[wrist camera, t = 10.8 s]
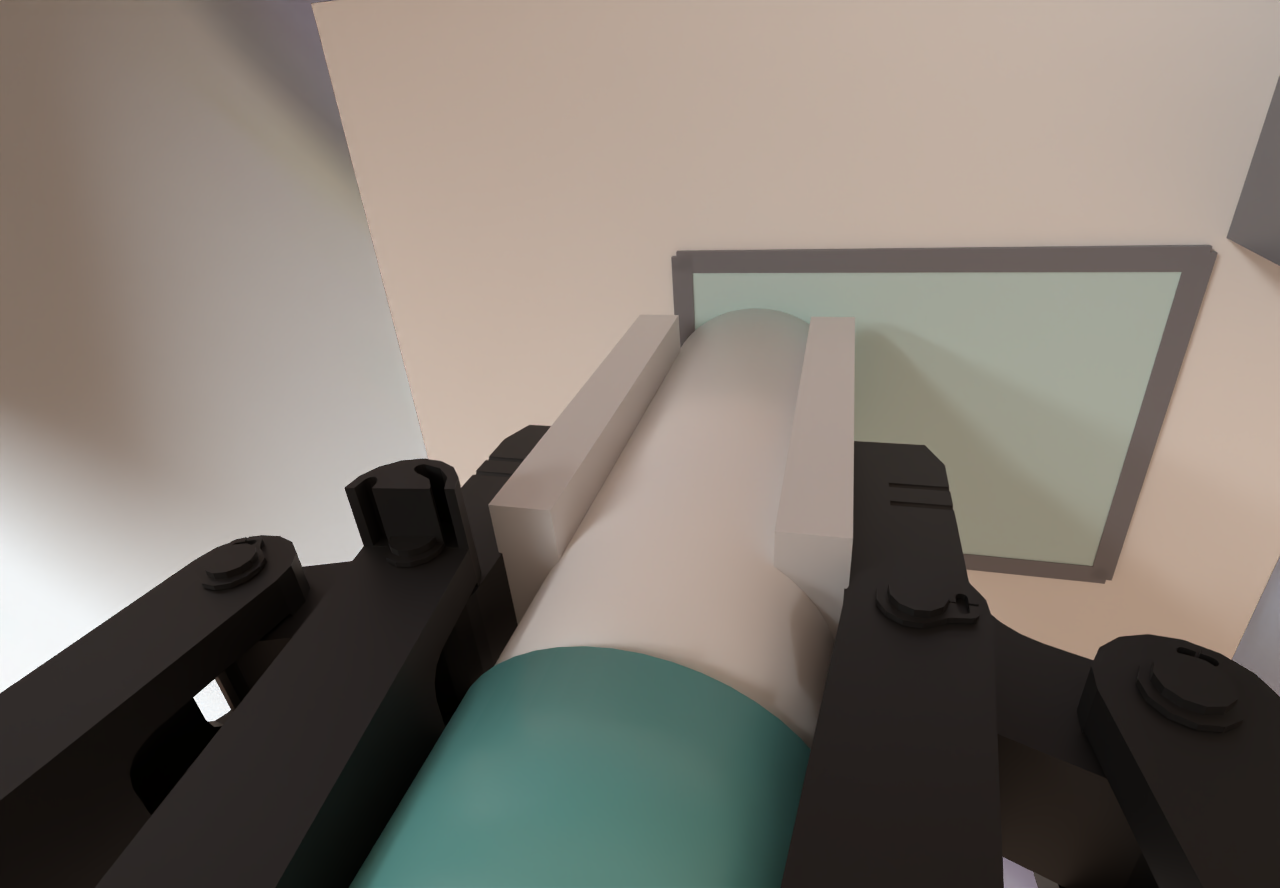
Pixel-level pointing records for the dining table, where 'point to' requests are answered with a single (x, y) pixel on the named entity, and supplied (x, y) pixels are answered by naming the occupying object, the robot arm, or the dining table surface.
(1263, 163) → the button housing
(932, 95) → the sheet
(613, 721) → the marker
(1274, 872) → the robot arm
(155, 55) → the dining table surface
